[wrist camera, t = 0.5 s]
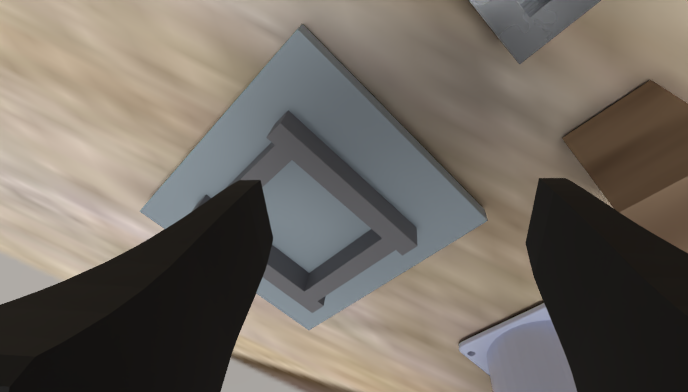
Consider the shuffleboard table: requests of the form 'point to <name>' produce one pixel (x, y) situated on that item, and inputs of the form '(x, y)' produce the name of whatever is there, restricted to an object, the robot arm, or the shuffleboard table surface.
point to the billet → (641, 159)
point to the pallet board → (323, 183)
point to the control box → (529, 21)
